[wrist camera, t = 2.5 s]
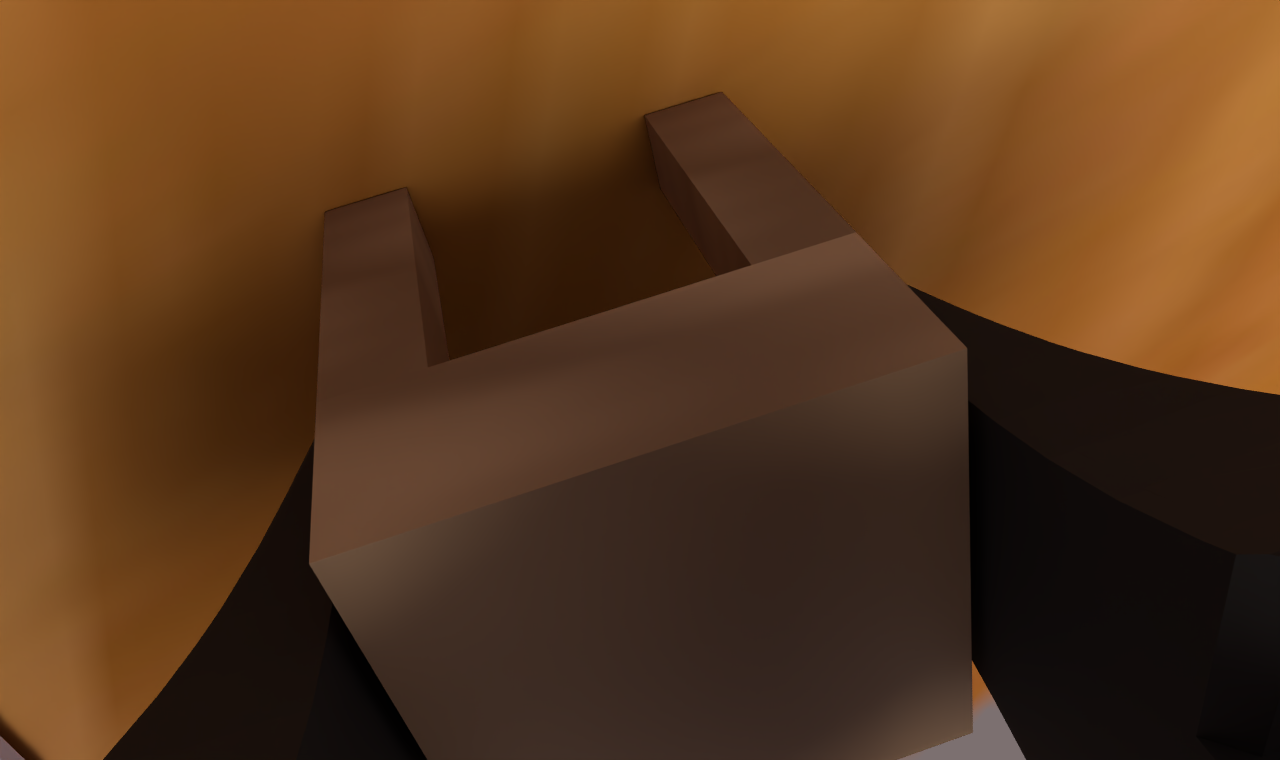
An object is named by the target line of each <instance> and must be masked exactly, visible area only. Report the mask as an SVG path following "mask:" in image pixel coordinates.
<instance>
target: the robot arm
mask: <svg viewBox="0 0 1280 760" xmlns="http://www.w3.org/2000/svg"><path fill="white" fill-rule="evenodd" d="M906 285H907V284H906ZM907 286H908V287H909V288H910V289H911V290H912V291H913V292H914V293H915V294H916V295H917V296H918V297H919V298H920V299H921V300H922V302H923V303H924V304H925V305H926V306H927V307H928V308H929V309H930V310H931V311H932V312H933V313H934V314H935V315H936V316H937V317H938V318H939V319H940V320H941V321H942V322H943V323H944V325H945V326H946V327H947V328H948V329H949V330H950V331H951V332H952V333H953V334H954V335H955V336H956V337H957V338H958V339H959V340H960V341H961V342H962V343H963V344H964V345H965V346H966V347H967V371H968V440H969V509H970V578H971V646H972V661H973V663H974V665H975V666H976V668H977V670H978V672H979V673H980V675H981V677H982V679H983V681H984V682H985V684H986V686H987V688H988V690H989V691H990V693H991V695H992V697H993V699H994V700H995V702H996V704H997V706H998V708H999V710H1000V712H1001V713H1002V715H1003V717H1004V719H1005V721H1006V723H1007V724H1008V727H1009V728H1010V730H1011V732H1012V734H1013V736H1014V738H1015V740H1016V741H1017V743H1018V745H1019V747H1020V749H1021V751H1022V753H1023V755H1024V756H1025V758H1026V760H1280V395H1277V394H1270V393H1264V392H1257V391H1251V390H1244V389H1239V388H1233V387H1228V386H1223V385H1218V384H1213V383H1208V382H1203V381H1197V380H1192V379H1187V378H1182V377H1177V376H1172V375H1168V374H1164V373H1159V372H1155V371H1150V370H1146V369H1142V368H1138V367H1134V366H1131V365H1127V364H1123V363H1120V362H1116V361H1112V360H1109V359H1105V358H1101V357H1098V356H1094V355H1090V354H1087V353H1083V352H1080V351H1076V350H1073V349H1070V348H1067V347H1064V346H1061V345H1057V344H1054V343H1051V342H1048V341H1046V340H1043V339H1040V338H1037V337H1034V336H1032V335H1029V334H1026V333H1023V332H1020V331H1018V330H1015V329H1012V328H1009V327H1006V326H1004V325H1001V324H999V323H996V322H993V321H991V320H988V319H986V318H983V317H981V316H978V315H976V314H973V313H971V312H968V311H966V310H964V309H961V308H959V307H957V306H954V305H952V304H950V303H947V302H945V301H943V300H940V299H938V298H936V297H933V296H931V295H929V294H927V293H924V292H922V291H920V290H918V289H916V288H913V287H911V286H909V285H907ZM314 443H315V439H314V441H313V443H312V445H311V447H310V449H309V451H308V453H307V455H306V457H305V459H304V461H303V463H302V465H301V467H300V469H299V471H298V473H297V475H296V477H295V479H294V481H293V483H292V485H291V487H290V489H289V491H288V493H287V495H286V497H285V498H284V500H283V502H282V504H281V506H280V508H279V510H278V512H277V513H276V515H275V517H274V519H273V521H272V523H271V525H270V526H269V528H268V530H267V532H266V534H265V536H264V538H263V540H262V541H261V543H260V545H259V547H258V549H257V550H256V552H255V554H254V555H253V557H252V559H251V560H250V562H249V564H248V565H247V567H246V569H245V570H244V572H243V574H242V575H241V577H240V578H239V580H238V582H237V583H236V585H235V587H234V588H233V590H232V592H231V593H230V595H229V597H228V598H227V600H226V602H225V603H224V605H223V606H222V608H221V609H220V611H219V612H218V614H217V615H216V617H215V618H214V620H213V621H212V623H211V624H210V626H209V627H208V629H207V630H206V632H205V633H204V634H203V636H202V637H201V639H200V640H199V642H198V643H197V644H196V646H195V647H194V648H193V650H192V651H191V652H190V654H189V655H188V656H187V658H186V659H185V661H184V662H183V663H182V665H181V666H180V667H179V669H178V670H177V671H176V673H175V674H174V675H173V677H172V678H171V679H170V681H169V682H168V683H167V685H166V686H165V687H164V688H163V690H162V691H161V692H160V693H159V695H158V696H157V697H156V698H155V700H154V701H153V702H152V703H151V704H150V706H149V707H148V708H147V709H146V710H145V711H144V713H143V714H142V715H141V716H140V717H139V718H138V720H137V721H136V722H135V723H134V724H133V725H132V726H131V728H130V729H129V730H128V731H127V732H126V733H125V735H124V736H123V737H122V738H121V739H120V740H119V742H118V743H117V744H116V745H115V746H114V747H113V749H112V750H111V751H110V752H109V753H108V754H107V756H106V757H105V758H104V759H103V760H427V758H426V756H425V755H424V753H423V752H422V750H421V748H420V747H419V745H418V743H417V742H416V740H415V738H414V737H413V735H412V733H411V732H410V730H409V728H408V727H407V725H406V723H405V722H404V720H403V718H402V717H401V715H400V713H399V712H398V710H397V708H396V707H395V705H394V703H393V702H392V700H391V699H390V697H389V695H388V694H387V692H386V690H385V689H384V687H383V685H382V684H381V682H380V680H379V679H378V677H377V675H376V674H375V672H374V670H373V669H372V667H371V665H370V664H369V662H368V660H367V659H366V657H365V655H364V654H363V652H362V650H361V649H360V647H359V646H358V644H357V642H356V641H355V639H354V637H353V636H352V634H351V632H350V631H349V629H348V627H347V626H346V624H345V622H344V621H343V619H342V617H341V616H340V614H339V612H338V611H337V609H336V607H335V606H334V604H333V602H332V601H331V599H330V597H329V596H328V594H327V593H326V591H325V589H324V588H323V586H322V584H321V583H320V581H319V579H318V578H317V576H316V574H315V573H314V571H313V569H312V568H311V566H310V564H309V554H310V532H311V510H312V487H313V465H314ZM0 760H25V759H24V758H23V757H22V756H21V755H20V754H19V753H17V752H16V751H15V750H14V749H13V748H12V747H11V746H10V745H9V744H8V743H7V742H6V741H5V740H4V739H3V738H2V737H1V736H0Z"/></svg>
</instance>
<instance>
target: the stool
mask: <svg viewBox="0 0 1280 760" xmlns="http://www.w3.org/2000/svg"><path fill="white" fill-rule="evenodd" d="M644 116H645V120H646V125H647V129H648V134H649V138H650V143H651V148H652V152H653V157H654V161H655V166H656V171H657V175H658V180H659V184H660V189H661V190H662V192H663V194H664V195H665V197H666V198H667V200H668V201H669V203H670V204H671V206H672V208H673V209H674V211H675V212H676V214H677V215H678V217H679V219H680V220H681V222H682V223H683V225H684V226H685V228H686V229H687V231H688V233H689V234H690V236H691V237H692V239H693V240H694V242H695V244H696V245H697V247H698V248H699V250H700V251H701V253H702V254H703V256H704V258H705V259H706V261H707V262H708V264H709V265H710V267H711V268H712V270H713V272H714V273H715V275H716V277H713V278H710V279H706V280H703V281H700V282H697V283H694V284H691V285H687V286H684V287H681V288H678V289H675V290H672V291H668V292H665V293H662V294H659V295H656V296H653V297H649V298H646V299H643V300H640V301H637V302H634V303H630V304H627V305H624V306H621V307H618V308H615V309H611V310H608V311H605V312H602V313H599V314H596V315H592V316H589V317H586V318H583V319H580V320H577V321H573V322H570V323H567V324H564V325H561V326H558V327H554V328H551V329H548V330H545V331H542V332H539V333H535V334H532V335H529V336H526V337H523V338H520V339H516V340H513V341H510V342H507V343H504V344H501V345H497V346H494V347H491V348H488V349H485V350H482V351H478V352H475V353H472V354H469V355H466V356H463V357H459V358H456V359H453V360H449V354H448V347H447V341H446V334H445V328H444V321H443V315H442V308H441V302H440V295H439V289H438V282H437V276H436V269H435V263H434V258H433V255H432V253H431V250H430V247H429V245H428V242H427V240H426V237H425V235H424V232H423V229H422V227H421V224H420V222H419V219H418V216H417V214H416V211H415V209H414V206H413V204H412V201H411V198H410V196H409V193H408V191H407V188H403V189H400V190H396V191H393V192H390V193H386V194H383V195H380V196H376V197H373V198H370V199H366V200H363V201H360V202H356V203H353V204H350V205H347V206H343V207H340V208H337V209H333V210H330V211H327V212H325V223H324V245H323V267H322V289H321V311H320V333H319V355H318V377H317V399H316V421H315V443H314V465H313V487H312V510H311V532H310V554H309V564H310V566H311V568H312V569H313V571H314V573H315V574H316V576H317V578H318V579H319V581H320V583H321V584H322V586H323V588H324V589H325V591H326V593H327V594H328V596H329V597H330V599H331V601H332V602H333V604H334V606H335V607H336V609H337V611H338V612H339V614H340V616H341V617H342V619H343V621H344V622H345V624H346V626H347V627H348V629H349V631H350V632H351V634H352V636H353V637H354V639H355V641H356V642H357V644H358V646H359V647H360V649H361V650H362V652H363V654H364V655H365V657H366V659H367V660H368V662H369V664H370V665H371V667H372V669H373V670H374V672H375V674H376V675H377V677H378V679H379V680H380V682H381V684H382V685H383V687H384V689H385V690H386V692H387V694H388V695H389V697H390V699H391V700H392V702H393V703H394V705H395V707H396V708H397V710H398V712H399V713H400V715H401V717H402V718H403V720H404V722H405V723H406V725H407V727H408V728H409V730H410V732H411V733H412V735H413V737H414V738H415V740H416V742H417V743H418V745H419V747H420V748H421V750H422V752H423V753H424V755H425V756H426V758H427V760H897V759H900V758H903V757H906V756H909V755H911V754H914V753H917V752H920V751H923V750H925V749H928V748H931V747H934V746H936V745H939V744H942V743H945V742H948V741H951V740H953V739H956V738H959V737H962V736H965V735H967V734H970V733H972V732H973V715H972V646H971V578H970V509H969V440H968V371H967V347H966V346H965V345H964V344H963V343H962V342H961V341H960V340H959V339H958V338H957V337H956V336H955V335H954V334H953V333H952V332H951V331H950V330H949V329H948V328H947V327H946V326H945V325H944V323H943V322H942V321H941V320H940V319H939V318H938V317H937V316H936V315H935V314H934V313H933V312H932V311H931V310H930V309H929V308H928V307H927V306H926V305H925V304H924V303H923V302H922V300H921V299H920V298H919V297H918V296H917V295H916V294H915V293H914V292H913V291H912V290H911V289H910V288H909V287H908V286H907V285H906V284H905V283H904V282H903V281H902V280H901V279H900V277H899V276H898V275H897V274H896V273H895V272H894V271H893V270H892V269H891V268H890V267H889V266H888V265H887V264H886V263H885V262H884V261H883V260H882V259H881V258H880V257H879V256H878V254H877V253H876V252H875V251H874V250H873V249H872V248H871V247H870V246H869V245H868V244H867V243H866V242H865V241H864V240H863V239H862V238H861V237H860V236H859V235H858V234H857V233H856V231H855V230H854V229H853V228H852V227H851V226H850V225H849V224H848V223H847V222H846V221H845V220H844V219H843V218H842V217H841V216H840V215H839V214H838V213H837V212H836V211H835V210H834V209H833V207H832V206H831V205H830V204H829V203H828V202H827V201H826V200H825V199H824V198H823V197H822V196H821V195H820V194H819V193H818V192H817V191H816V190H815V189H814V188H813V187H812V186H811V184H810V183H809V182H808V181H807V180H806V179H805V178H804V177H803V176H802V175H801V174H800V173H799V172H798V171H797V170H796V169H795V168H794V167H793V166H792V165H791V164H790V163H789V161H788V160H787V159H786V158H785V157H784V156H783V155H782V154H781V153H780V152H779V151H778V150H777V149H776V148H775V147H774V146H773V145H772V144H771V143H770V142H769V141H768V140H767V138H766V137H765V136H764V135H763V134H762V133H761V132H760V131H759V130H758V129H757V128H756V127H755V126H754V125H753V124H752V123H751V122H750V121H749V120H748V119H747V118H746V117H745V115H744V114H743V113H742V112H741V111H740V110H739V109H738V108H737V107H736V106H735V105H734V104H733V103H732V102H731V101H730V100H729V99H728V98H727V97H726V96H725V95H724V94H723V93H722V92H721V93H717V94H714V95H711V96H707V97H704V98H701V99H697V100H694V101H691V102H687V103H684V104H681V105H678V106H674V107H671V108H668V109H664V110H661V111H658V112H654V113H651V114H648V115H644Z"/></svg>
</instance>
